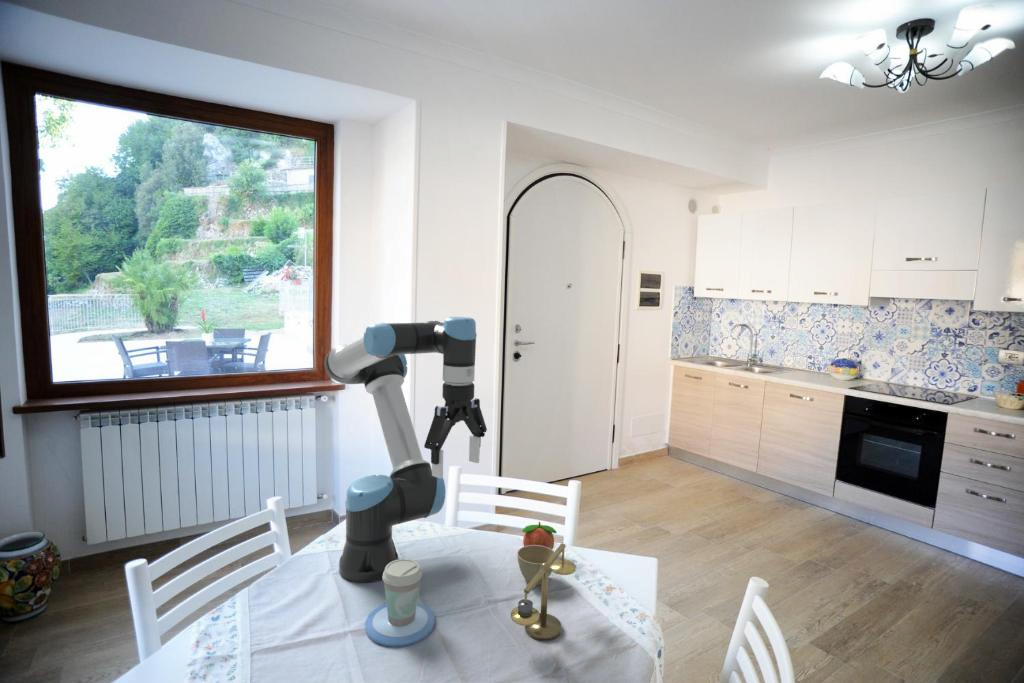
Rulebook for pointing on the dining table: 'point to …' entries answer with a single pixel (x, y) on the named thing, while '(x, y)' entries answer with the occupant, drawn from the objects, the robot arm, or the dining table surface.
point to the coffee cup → (401, 590)
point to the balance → (542, 600)
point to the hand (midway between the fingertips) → (456, 469)
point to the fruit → (539, 535)
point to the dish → (399, 627)
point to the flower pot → (533, 560)
